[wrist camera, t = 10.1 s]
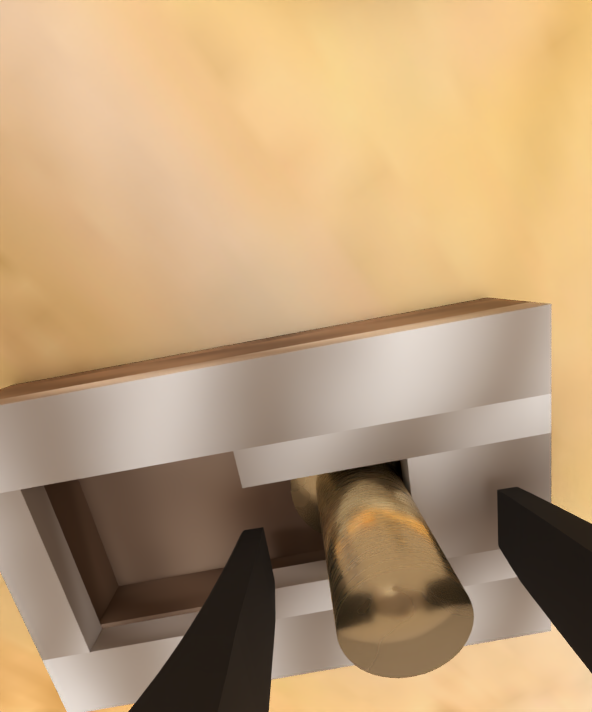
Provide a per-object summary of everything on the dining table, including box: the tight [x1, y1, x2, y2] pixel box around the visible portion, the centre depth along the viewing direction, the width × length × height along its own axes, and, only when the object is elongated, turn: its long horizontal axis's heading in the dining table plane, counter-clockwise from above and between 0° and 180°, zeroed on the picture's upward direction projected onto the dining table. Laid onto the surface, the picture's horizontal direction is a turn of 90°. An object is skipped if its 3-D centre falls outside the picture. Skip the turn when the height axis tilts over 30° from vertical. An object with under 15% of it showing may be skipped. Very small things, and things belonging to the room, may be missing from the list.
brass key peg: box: [291, 460, 474, 678], centre depth 10 cm, size 5×5×6 cm
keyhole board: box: [0, 298, 551, 712], centre depth 12 cm, size 18×12×3 cm, turn 100°
